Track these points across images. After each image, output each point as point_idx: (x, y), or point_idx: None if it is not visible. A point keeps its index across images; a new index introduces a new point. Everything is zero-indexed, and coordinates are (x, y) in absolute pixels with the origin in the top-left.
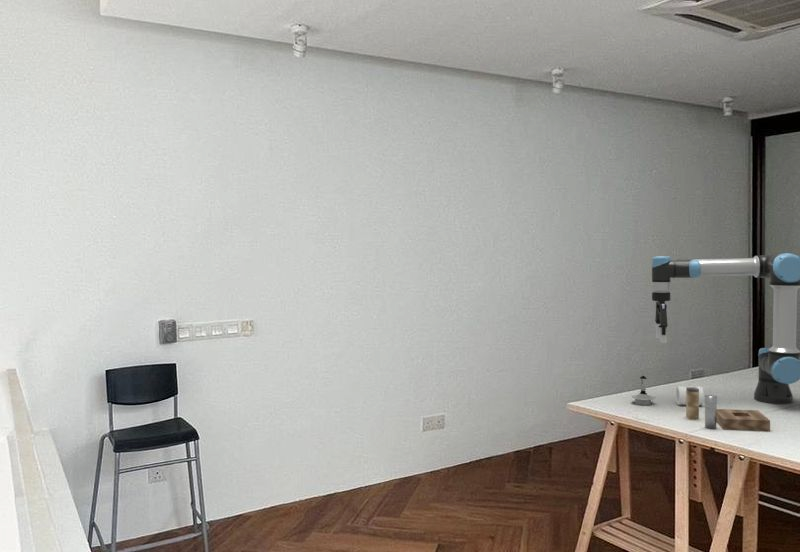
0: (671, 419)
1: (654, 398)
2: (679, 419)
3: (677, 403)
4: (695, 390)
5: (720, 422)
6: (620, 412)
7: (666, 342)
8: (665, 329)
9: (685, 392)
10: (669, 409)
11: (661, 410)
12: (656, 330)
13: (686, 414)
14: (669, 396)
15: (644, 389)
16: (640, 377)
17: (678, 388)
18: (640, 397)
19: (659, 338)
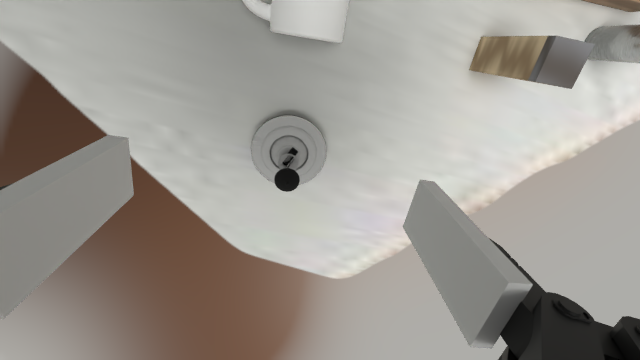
0: (486, 123)
1: (308, 122)
2: (492, 101)
3: (304, 37)
4: (582, 58)
5: (609, 3)
6: (392, 224)
7: (434, 185)
8: (537, 287)
9: (342, 14)
10: (373, 90)
11: (383, 118)
12: (81, 241)
13: (477, 71)
14: (165, 19)
15: (297, 161)
16: (287, 190)
17: (324, 39)
18: (309, 167)
19: (130, 166)
